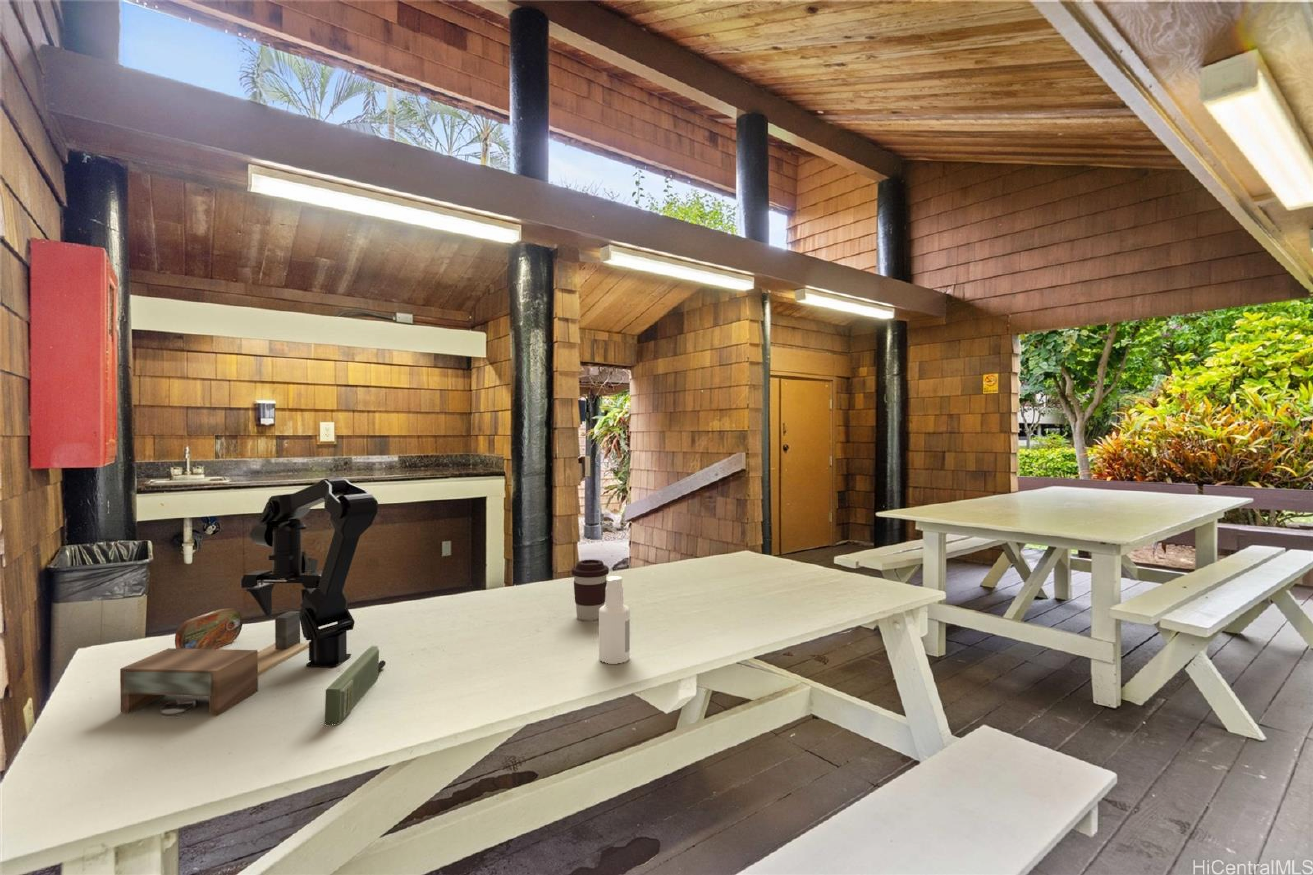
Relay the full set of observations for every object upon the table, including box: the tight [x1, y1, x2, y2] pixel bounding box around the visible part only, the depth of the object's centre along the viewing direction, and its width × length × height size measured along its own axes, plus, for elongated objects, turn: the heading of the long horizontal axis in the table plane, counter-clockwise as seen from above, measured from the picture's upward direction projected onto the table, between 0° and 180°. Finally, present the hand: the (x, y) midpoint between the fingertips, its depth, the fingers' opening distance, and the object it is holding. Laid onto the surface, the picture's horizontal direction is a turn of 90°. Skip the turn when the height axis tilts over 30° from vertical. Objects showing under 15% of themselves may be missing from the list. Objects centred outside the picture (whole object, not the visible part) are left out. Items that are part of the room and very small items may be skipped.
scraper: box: [258, 610, 309, 677], centre depth 130 cm, size 8×22×8 cm, turn 177°
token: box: [160, 697, 197, 717], centre depth 109 cm, size 5×5×1 cm
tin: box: [174, 607, 243, 649], centre depth 139 cm, size 15×3×8 cm, turn 168°
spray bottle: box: [598, 575, 631, 665], centre depth 133 cm, size 7×7×18 cm
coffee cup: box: [571, 559, 610, 622], centre depth 162 cm, size 10×10×15 cm
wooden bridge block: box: [119, 647, 259, 717], centre depth 112 cm, size 18×10×8 cm, turn 87°
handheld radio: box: [324, 645, 386, 726], centre depth 115 cm, size 7×3×25 cm
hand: (288, 616), depth 139 cm, fingers open, 9 cm apart
